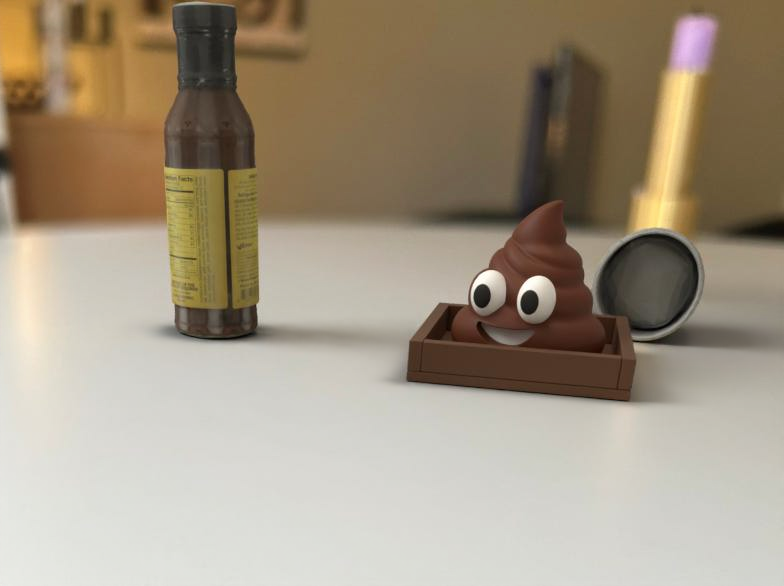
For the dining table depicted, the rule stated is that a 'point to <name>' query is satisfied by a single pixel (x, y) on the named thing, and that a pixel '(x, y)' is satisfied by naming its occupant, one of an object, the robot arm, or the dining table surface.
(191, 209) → the sauce bottle
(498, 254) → the poop emoji
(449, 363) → the walnut tray
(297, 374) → the dining table surface
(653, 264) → the ceramic mug
